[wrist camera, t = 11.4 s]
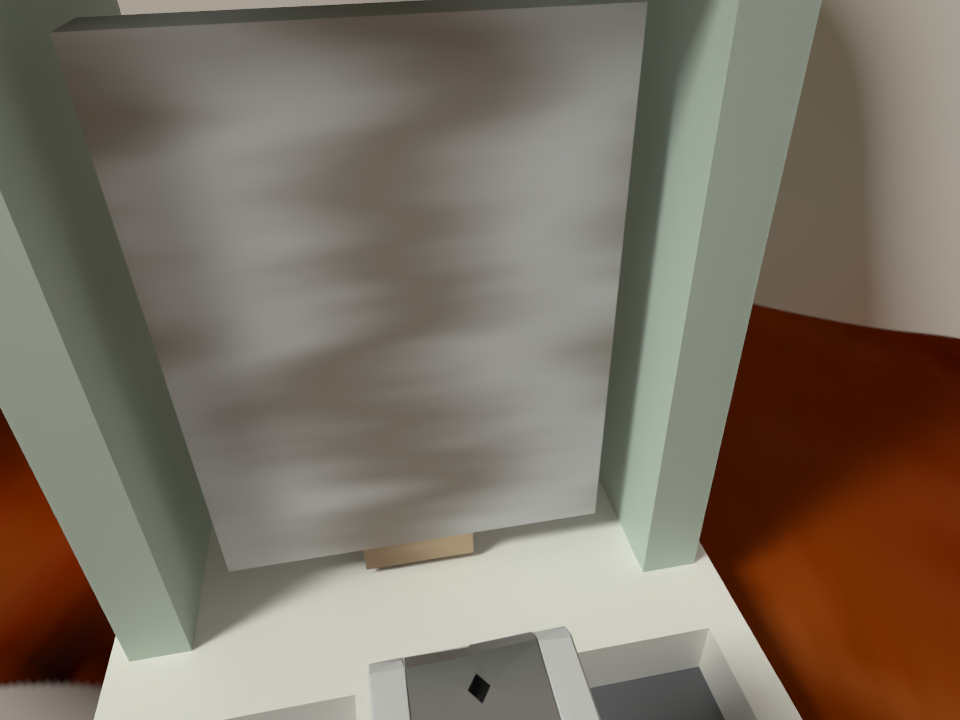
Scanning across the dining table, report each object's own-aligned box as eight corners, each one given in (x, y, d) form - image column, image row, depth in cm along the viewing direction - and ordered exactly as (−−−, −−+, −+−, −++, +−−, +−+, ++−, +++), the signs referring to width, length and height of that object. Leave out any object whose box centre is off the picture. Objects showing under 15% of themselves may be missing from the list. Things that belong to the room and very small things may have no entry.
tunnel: (129, 662, 18) (-343, -267, 8) (187, 415, 26) (-8, -194, 16) (693, 563, 20) (881, -260, 10) (584, 364, 28) (627, -199, 18)
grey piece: (235, 591, 19) (49, 33, 11) (272, 254, 36) (209, -61, 28) (593, 532, 21) (647, 1, 13) (466, 234, 38) (456, -70, 30)
